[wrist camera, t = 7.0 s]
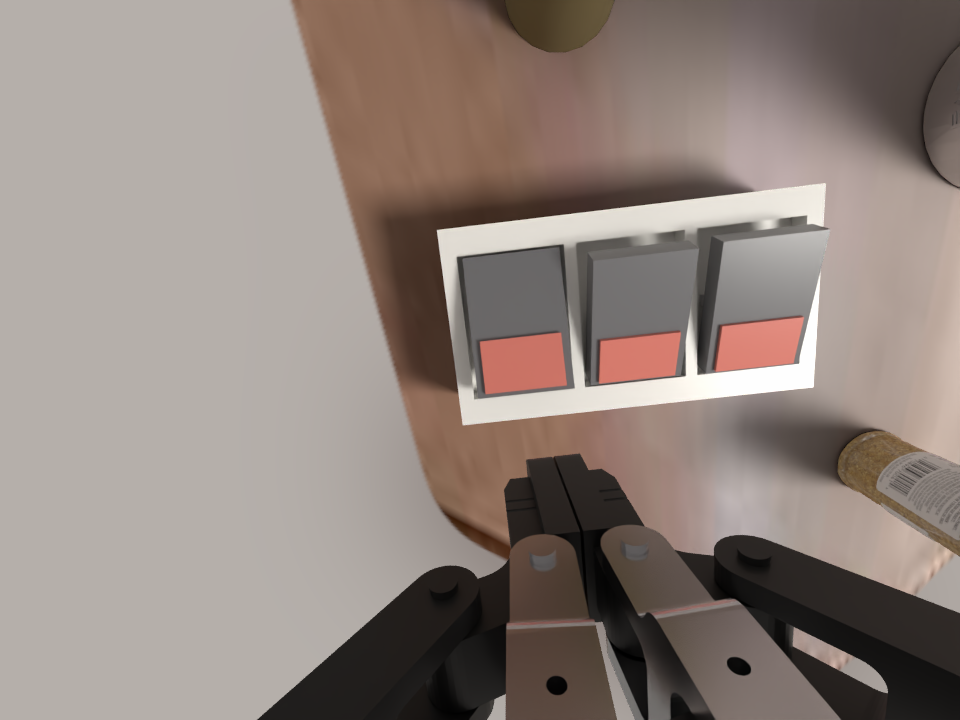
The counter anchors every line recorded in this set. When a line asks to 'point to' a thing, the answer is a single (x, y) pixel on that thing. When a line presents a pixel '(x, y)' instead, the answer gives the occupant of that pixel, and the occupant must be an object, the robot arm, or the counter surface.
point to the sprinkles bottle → (906, 484)
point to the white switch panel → (574, 242)
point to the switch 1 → (518, 323)
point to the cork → (558, 21)
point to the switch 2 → (759, 297)
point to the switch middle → (638, 311)
